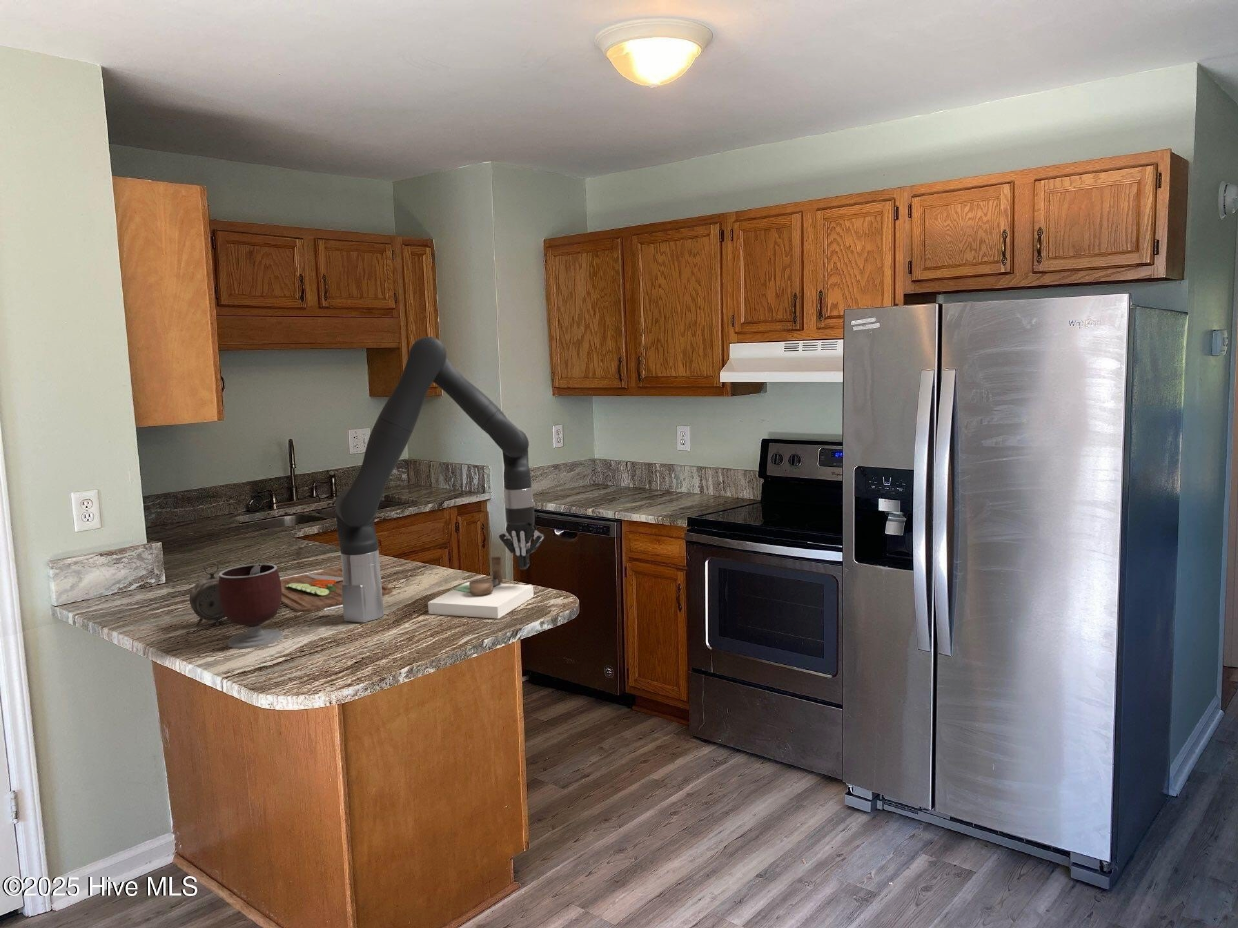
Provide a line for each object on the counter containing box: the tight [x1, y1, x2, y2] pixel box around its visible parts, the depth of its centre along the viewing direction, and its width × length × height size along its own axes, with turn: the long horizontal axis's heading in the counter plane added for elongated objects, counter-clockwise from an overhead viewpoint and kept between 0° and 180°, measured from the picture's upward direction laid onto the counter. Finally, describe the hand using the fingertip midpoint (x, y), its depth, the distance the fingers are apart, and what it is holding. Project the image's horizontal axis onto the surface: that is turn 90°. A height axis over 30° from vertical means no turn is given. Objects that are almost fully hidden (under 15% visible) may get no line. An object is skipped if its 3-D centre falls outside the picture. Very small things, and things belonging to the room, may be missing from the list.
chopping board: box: [280, 567, 393, 613], centre depth 261 cm, size 45×27×3 cm, turn 38°
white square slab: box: [427, 581, 534, 619], centre depth 237 cm, size 20×20×3 cm
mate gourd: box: [218, 563, 284, 649], centre depth 215 cm, size 16×14×20 cm
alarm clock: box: [189, 561, 227, 627], centre depth 231 cm, size 11×5×16 cm, turn 123°
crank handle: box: [469, 555, 503, 595], centre depth 240 cm, size 13×6×7 cm, turn 159°
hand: (523, 568), depth 242 cm, fingers closed
